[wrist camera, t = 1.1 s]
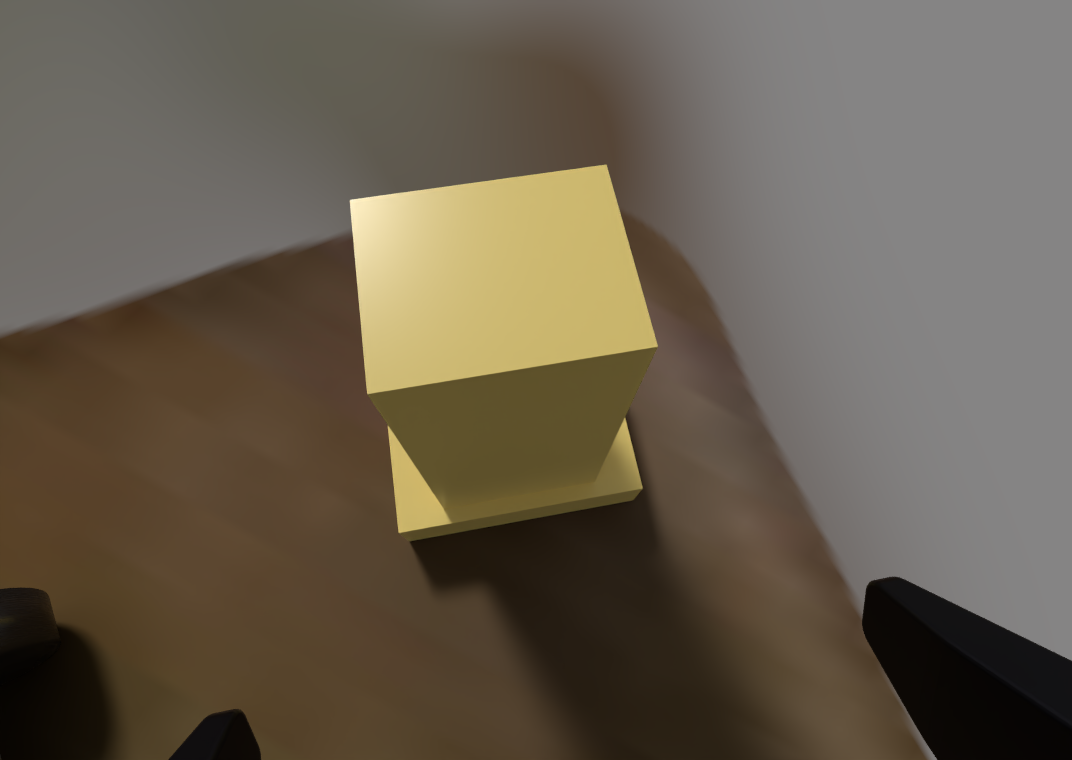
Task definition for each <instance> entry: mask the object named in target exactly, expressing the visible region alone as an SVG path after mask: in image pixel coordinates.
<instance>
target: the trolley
mask: <svg viewBox="0 0 1072 760" xmlns="http://www.w3.org/2000/svg"><path fill="white" fill-rule="evenodd" d="M60 645H61V640H60V636H59V633H58V629H57V625H56V621H55V617H54V614H53V610H52V606H51V602H50V598H49V596H48V594H47V593H46V592H44V591H42V590H39V589H34V588H7V589H0V686H1V685H3V684H5V683H7V682H9V681H11V680H13V679H15V678H17V677H19V676H21V675H23V674H24V673H26V672H28V671H30V670H31V669H33V668H35V667H36V666H38V665H40V664H41V663H43V662H44V661H45V660H47V659H48V658H49V657H51V656H52V655H53V654H54V653H55V652H56V651H57V650H58V649H59V647H60ZM0 760H1V756H0Z"/></svg>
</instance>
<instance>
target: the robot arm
mask: <svg viewBox="0 0 1072 760" xmlns="http://www.w3.org/2000/svg"><path fill="white" fill-rule="evenodd" d="M862 626H863V631H864V634H865V637H866V639H867V641H868V643H869V645H870V646H871V648H872V650H873V652H874V653H875V655H876V657H877V659H878V661H879V662H880V664H881V666H882V668H883V669H884V671H885V673H886V675H887V676H888V678H889V680H890V682H891V683H892V685H893V687H894V689H895V690H896V692H897V694H898V696H899V697H900V699H901V701H902V703H903V704H904V706H905V708H906V710H907V711H908V713H909V715H910V717H911V718H912V720H913V722H914V724H915V725H916V727H917V729H918V730H919V732H920V734H921V735H922V737H923V739H924V740H925V742H926V743H927V745H928V746H929V748H930V749H931V751H932V752H933V754H934V755H935V757H936V758H937V760H1072V661H1071V660H1069V659H1067V658H1065V657H1062V656H1060V655H1058V654H1057V653H1054V652H1052V651H1050V650H1048V649H1046V648H1044V647H1042V646H1040V645H1038V644H1036V643H1034V642H1032V641H1030V640H1028V639H1026V638H1024V637H1022V636H1019V635H1018V634H1015V633H1013V632H1011V631H1009V630H1007V629H1005V628H1003V627H1001V626H999V625H997V624H995V623H993V622H991V621H989V620H987V619H985V618H982V617H980V616H978V615H976V614H974V613H972V612H970V611H968V610H966V609H964V608H962V607H960V606H958V605H956V604H954V603H952V602H950V601H947V600H946V599H944V598H941V597H939V596H937V595H935V594H933V593H931V592H929V591H927V590H925V589H923V588H921V587H919V586H917V585H915V584H913V583H911V582H909V581H907V580H904V579H902V578H900V577H887V578H883V579H878V580H873V581H871V582H869V584H868V585H867V588H866V595H865V602H864V610H863V618H862ZM169 760H261V753H260V749H259V746H258V743H257V741H256V739H255V737H254V734H253V732H252V730H251V727H250V725H249V723H248V721H247V718H246V716H245V714H244V713H243V712H242V711H241V710H239V709H233V710H228V711H223V712H218V713H213V714H211V715H209V716H207V717H206V718H205V719H204V720H203V721H202V722H201V723H200V724H199V725H198V726H197V727H196V729H195V730H194V731H193V732H192V733H191V734H190V735H189V737H188V738H187V739H186V740H185V741H184V742H183V744H182V745H181V746H180V747H179V748H178V749H177V750H176V752H175V753H174V754H173V755H172V756H171V757H170V758H169Z"/></svg>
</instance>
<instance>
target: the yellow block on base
mask: <svg viewBox="0 0 1072 760" xmlns="http://www.w3.org/2000/svg"><path fill="white" fill-rule="evenodd" d="M350 207H351V218H352V229H353V240H354V251H355V263H356V274H357V285H358V296H359V307H360V318H361V330H362V341H363V352H364V363H365V374H366V385H367V394H368V396H369V397H370V399H371V400H372V402H373V403H374V405H375V406H376V408H377V409H378V411H379V412H380V414H381V415H382V417H383V418H384V420H385V421H386V423H387V424H388V432H389V442H390V451H391V461H392V471H393V481H394V491H395V501H396V511H397V521H398V531H399V534H401V535H402V536H403V537H405V538H406V539H407V540H408V541H415V540H420V539H425V538H431V537H436V536H442V535H447V534H453V533H458V532H464V531H469V530H474V529H480V528H485V527H491V526H496V525H502V524H507V523H513V522H518V521H523V520H529V519H534V518H540V517H545V516H551V515H556V514H562V513H567V512H572V511H578V510H583V509H589V508H594V507H600V506H605V505H611V504H616V503H621V502H627V501H632V500H634V499H635V497H636V496H637V495H638V494H639V493H640V491H641V490H642V489H643V487H642V483H641V479H640V475H639V471H638V467H637V463H636V459H635V455H634V451H633V447H632V443H631V439H630V435H629V431H628V427H627V423H626V419H625V416H626V414H627V412H628V410H629V408H630V405H631V403H632V401H633V399H634V397H635V395H636V393H637V390H638V388H639V386H640V384H641V382H642V380H643V378H644V375H645V373H646V371H647V369H648V367H649V365H650V362H651V360H652V358H653V356H654V354H655V352H656V350H657V347H658V345H657V342H656V338H655V335H654V331H653V328H652V324H651V321H650V317H649V314H648V310H647V306H646V303H645V299H644V296H643V292H642V289H641V285H640V282H639V278H638V275H637V271H636V268H635V264H634V260H633V257H632V253H631V250H630V246H629V243H628V239H627V236H626V232H625V229H624V225H623V222H622V218H621V214H620V211H619V207H618V204H617V200H616V197H615V193H614V190H613V186H612V183H611V179H610V176H609V172H608V169H607V165H601V166H593V167H586V168H579V169H571V170H564V171H557V172H549V173H542V174H535V175H528V176H521V177H513V178H506V179H499V180H491V181H484V182H477V183H470V184H462V185H455V186H448V187H440V188H433V189H426V190H419V191H411V192H405V193H397V194H390V195H382V196H375V197H368V198H361V199H353V200H350Z"/></svg>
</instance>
